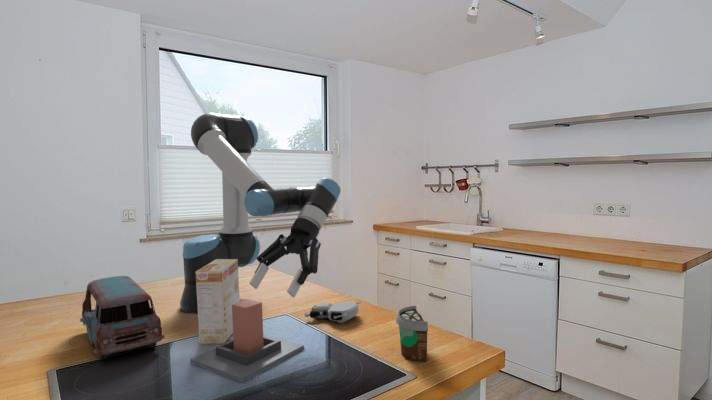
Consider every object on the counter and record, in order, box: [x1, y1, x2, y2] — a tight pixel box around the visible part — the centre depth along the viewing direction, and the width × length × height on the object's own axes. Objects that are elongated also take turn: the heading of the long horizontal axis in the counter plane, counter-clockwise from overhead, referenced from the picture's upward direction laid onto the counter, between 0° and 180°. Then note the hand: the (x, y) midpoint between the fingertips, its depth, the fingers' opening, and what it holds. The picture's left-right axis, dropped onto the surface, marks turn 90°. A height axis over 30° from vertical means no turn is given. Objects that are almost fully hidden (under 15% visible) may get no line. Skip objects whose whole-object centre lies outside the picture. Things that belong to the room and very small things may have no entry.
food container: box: [395, 305, 429, 363], centre depth 102 cm, size 12×6×10 cm, turn 5°
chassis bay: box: [189, 333, 305, 384], centre depth 103 cm, size 18×20×3 cm
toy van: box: [79, 275, 165, 361], centre depth 114 cm, size 16×32×15 cm, turn 38°
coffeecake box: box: [195, 259, 241, 345], centre depth 118 cm, size 15×7×20 cm, turn 178°
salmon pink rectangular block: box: [232, 298, 264, 355], centre depth 103 cm, size 5×5×12 cm
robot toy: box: [304, 301, 362, 324], centre depth 128 cm, size 12×4×15 cm
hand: (271, 290), depth 109 cm, fingers open, 13 cm apart
